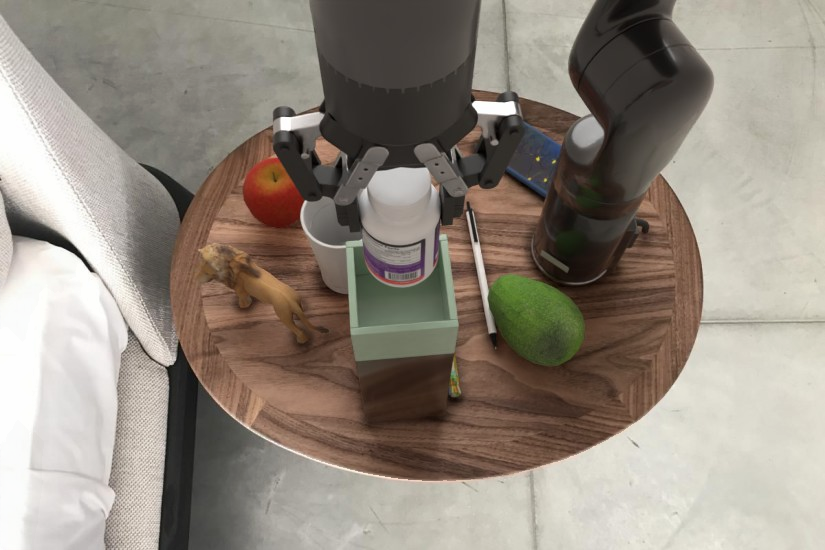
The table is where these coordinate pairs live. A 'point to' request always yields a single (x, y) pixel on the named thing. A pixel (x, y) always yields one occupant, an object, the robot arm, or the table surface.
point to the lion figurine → (253, 285)
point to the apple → (272, 194)
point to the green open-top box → (402, 338)
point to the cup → (328, 240)
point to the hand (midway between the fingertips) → (400, 216)
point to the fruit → (536, 319)
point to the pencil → (454, 381)
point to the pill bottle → (400, 226)
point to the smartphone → (534, 160)
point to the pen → (481, 274)
